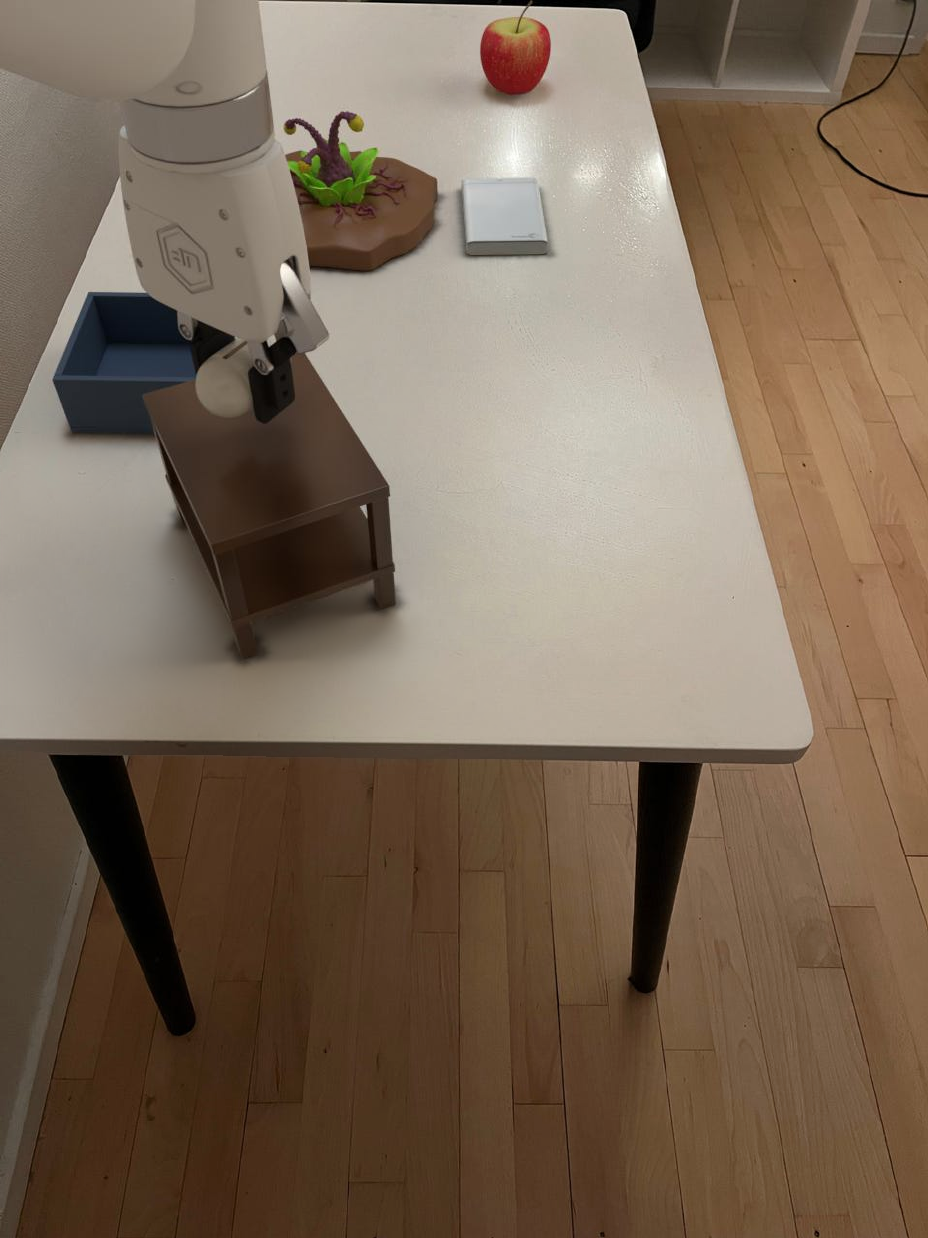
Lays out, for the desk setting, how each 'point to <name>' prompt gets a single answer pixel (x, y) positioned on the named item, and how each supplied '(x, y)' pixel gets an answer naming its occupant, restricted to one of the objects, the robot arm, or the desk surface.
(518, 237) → the hard drive
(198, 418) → the side table
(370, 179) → the plant
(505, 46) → the apple
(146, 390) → the bin
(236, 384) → the white capsule
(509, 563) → the desk surface
